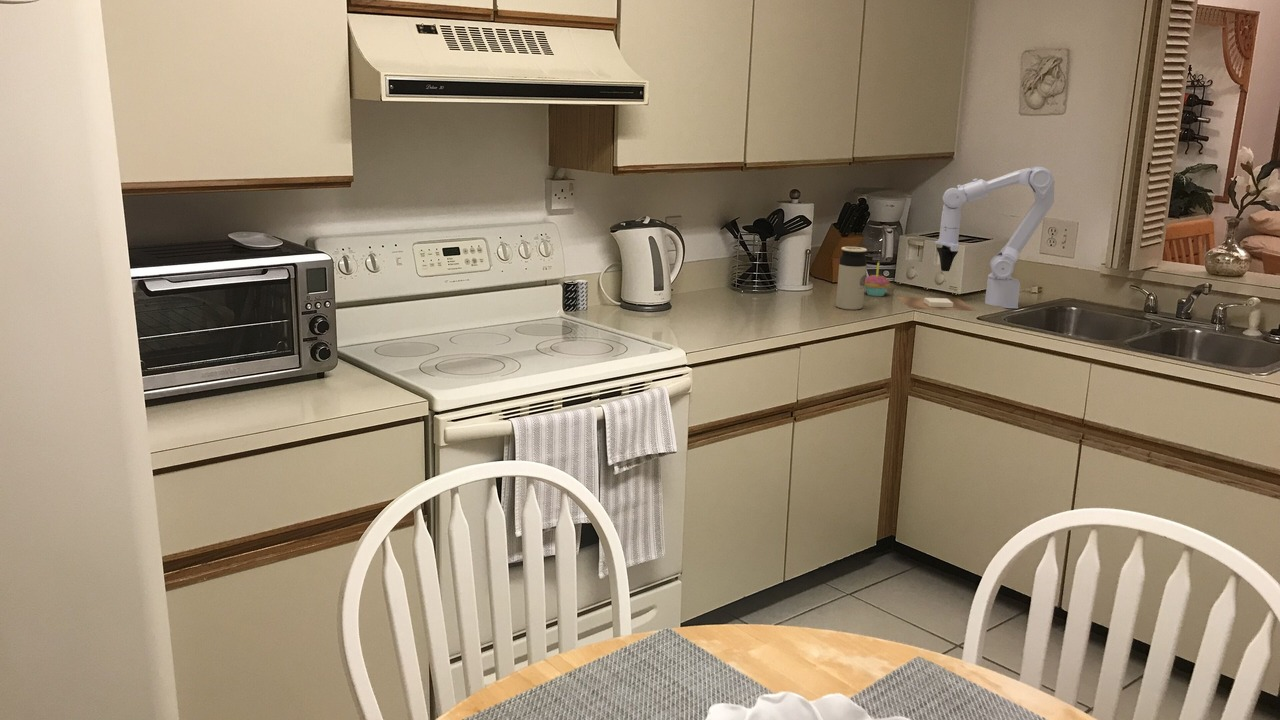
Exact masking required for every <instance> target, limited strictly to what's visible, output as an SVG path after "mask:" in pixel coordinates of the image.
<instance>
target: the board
mask: <svg viewBox="0 0 1280 720" xmlns="http://www.w3.org/2000/svg"><path fill="white" fill-rule="evenodd" d="M896 298H897V299H898V300H899V301H901V302H902V303H903V304H904V305H906V306H907V307H908V308H910V309H912V310H936V311H938V310H939V311H940V310H941V311H969V312H972V311H973V312H975V311H976V312H978V310H977V308H975V307H974V306H973V307H972V306H971V305H969V304H968V303H966V302H965V301H963V300H962V299H960V298H949V297H948V298H946V297H945V298H946V299H948V300H950V301H951V302H953V307H952V308H946V307H930V306H928V305H927V304H925V303H924V298H925V297H917V296H916V297H914V296H911V297H909V296H896Z"/></svg>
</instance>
